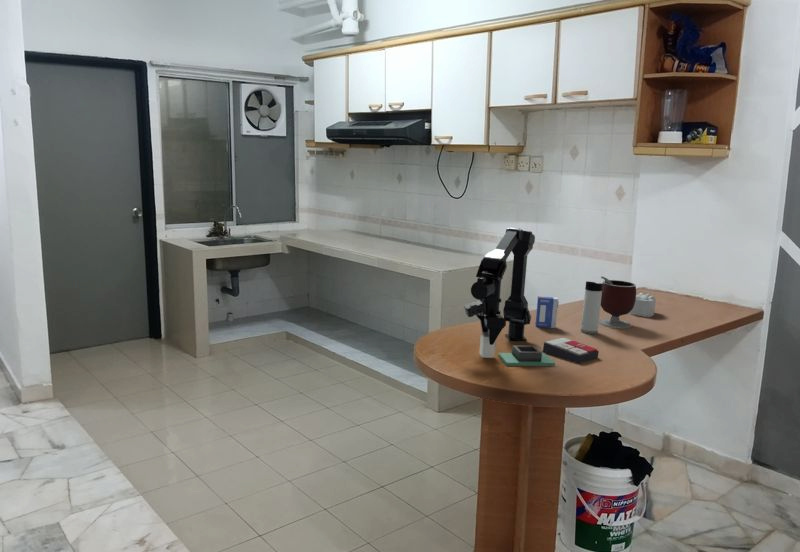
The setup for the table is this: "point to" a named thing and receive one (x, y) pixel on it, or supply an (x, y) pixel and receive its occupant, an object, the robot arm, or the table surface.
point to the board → (526, 357)
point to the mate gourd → (617, 301)
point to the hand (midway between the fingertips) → (487, 340)
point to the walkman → (546, 312)
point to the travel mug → (591, 307)
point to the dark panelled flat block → (570, 350)
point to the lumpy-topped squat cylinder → (644, 305)
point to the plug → (486, 346)
